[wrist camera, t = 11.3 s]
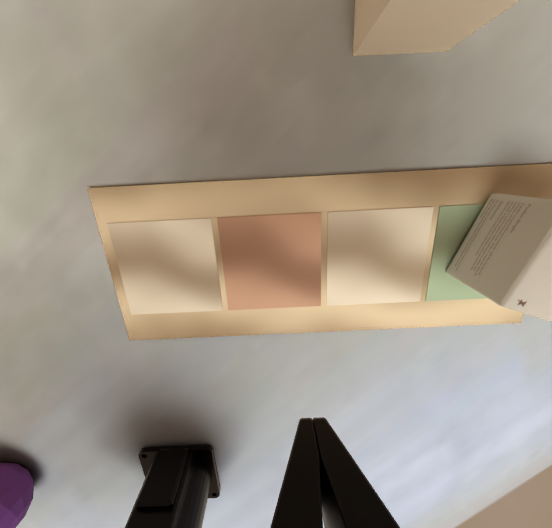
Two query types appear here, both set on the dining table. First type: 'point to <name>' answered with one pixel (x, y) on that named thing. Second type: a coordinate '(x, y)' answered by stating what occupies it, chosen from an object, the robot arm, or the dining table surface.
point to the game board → (301, 251)
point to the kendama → (14, 494)
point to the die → (419, 24)
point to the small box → (510, 254)
